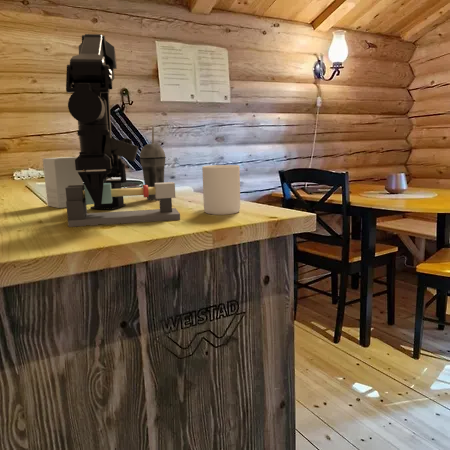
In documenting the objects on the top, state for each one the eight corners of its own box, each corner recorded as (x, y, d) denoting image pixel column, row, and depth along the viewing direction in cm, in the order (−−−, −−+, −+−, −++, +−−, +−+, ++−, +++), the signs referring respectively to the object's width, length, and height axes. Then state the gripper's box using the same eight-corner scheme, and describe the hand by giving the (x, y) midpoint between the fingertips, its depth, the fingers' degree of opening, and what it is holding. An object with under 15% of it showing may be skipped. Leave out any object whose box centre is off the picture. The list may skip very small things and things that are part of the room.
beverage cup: (137, 200, 117) (132, 127, 113) (149, 197, 123) (145, 127, 119) (161, 201, 114) (157, 126, 110) (172, 197, 121) (168, 126, 117)
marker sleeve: (86, 204, 84) (84, 185, 84) (87, 202, 88) (86, 184, 87) (111, 203, 85) (110, 184, 85) (112, 200, 89) (110, 182, 88)
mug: (191, 209, 100) (189, 165, 98) (222, 205, 104) (221, 163, 102) (213, 216, 90) (212, 167, 88) (247, 212, 94) (246, 165, 92)
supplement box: (86, 205, 111) (81, 156, 109) (58, 208, 106) (53, 158, 104) (73, 202, 116) (69, 156, 114) (46, 206, 111) (41, 157, 109)
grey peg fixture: (68, 226, 82) (64, 188, 81) (73, 219, 90) (69, 184, 88) (180, 219, 87) (178, 183, 86) (175, 213, 95) (174, 180, 93)
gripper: (135, 122, 76) (140, 207, 79) (133, 126, 94) (138, 195, 97) (70, 123, 74) (79, 210, 77) (81, 127, 92) (88, 198, 95)
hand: (99, 202), depth 87 cm, fingers open, 8 cm apart
